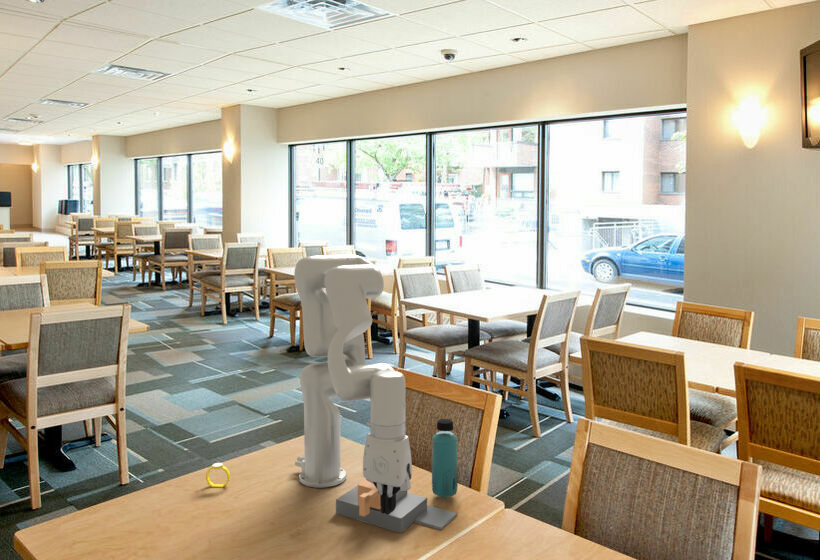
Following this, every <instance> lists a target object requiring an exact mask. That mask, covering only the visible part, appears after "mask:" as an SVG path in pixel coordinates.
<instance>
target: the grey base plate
mask: <svg viewBox="0 0 820 560" xmlns="http://www.w3.org/2000/svg"><path fill="white" fill-rule="evenodd" d="M335 502H336V503H335V514H336V515H340V516H343V517H347V518H350V519H353V520H356V521H360V522H363V523H366V524H369V525H372V526H377V527H379V528H382V529H386V530H389V531H391V532H396V533H399V534H402V533H403V532H404V531H406V530H407V529H408V528H410V527H411V526H412V525H413V524H414V523H415V522H414V520H415V519H416V518H417V517H418V516H420V515H421V514H422V513H423V512H424V511H426V510H427V505H428V497H427V496H421V495H418V494H414V493H410V492H408V490H407V491H399V492H398V493H396V508H395V510H394V511H393V512H391V513H390V514H389V515H386V514H385V513H384V514H383V513H381V509H375V508H372V507H370V513H369V514H367V515H366V516H365V517H364V516H361V515H359V504H358V485H355V487H353V488H352V489H350V490H349V491H347V492H345V493H343V494H341V496H338V498H336V499H335Z"/></svg>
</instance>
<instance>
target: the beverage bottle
mask: <svg viewBox="0 0 820 560" xmlns="http://www.w3.org/2000/svg"><path fill="white" fill-rule="evenodd" d="M436 423H437V424H436V429H437V430H438V432H436V433H435V434H434V435H433V436H432V460H431V462H432V463H431V488H432V489H431V491H432V493H433V494H434V495H435V496H437V497H441V498H450V497H453V496H456V494H457V492H458V483H459V482H458V475H459V474H458V467H459V466H458V465H459V464H458V458H459V457H458V437H457V435H456V434H454V433H453V432H452V431H453V430H454V422H453V420H452V419H450V418H441V419H438V420H437V422H436Z"/></svg>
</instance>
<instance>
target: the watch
mask: <svg viewBox="0 0 820 560" xmlns="http://www.w3.org/2000/svg"><path fill="white" fill-rule="evenodd" d="M219 469H221V470H223V471H224V472H225V473H226V476H227V480H226V482H225V483H221V484H219V483H218V484H217V483H213V482H212V481H211V479H210V472H211V470H219ZM205 480H206V482H207V484H208V485H209V487H211V488H225V487H226V486H227V485H228V484H229V482H230V480H231V472H230V470H229V469H228V467H226V466H225V465H224V464H223V462H216V463H213V464H212V465H211V466H210V467H209V469H208V470H207V472H206V474H205Z"/></svg>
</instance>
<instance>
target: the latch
mask: <svg viewBox="0 0 820 560" xmlns="http://www.w3.org/2000/svg"><path fill="white" fill-rule="evenodd" d="M357 486H358V504H359V515H361V516H364V517H365V516H366V515H367V514H369V513H370V507H372V508H375V509H381V506H380V495H379V494H378V490H377V488H376V487H375V485H374V484H372V483H370V482H369V481H367V480H366V479H364V480H363V481H361V482H359V483H358V484H357Z"/></svg>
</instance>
